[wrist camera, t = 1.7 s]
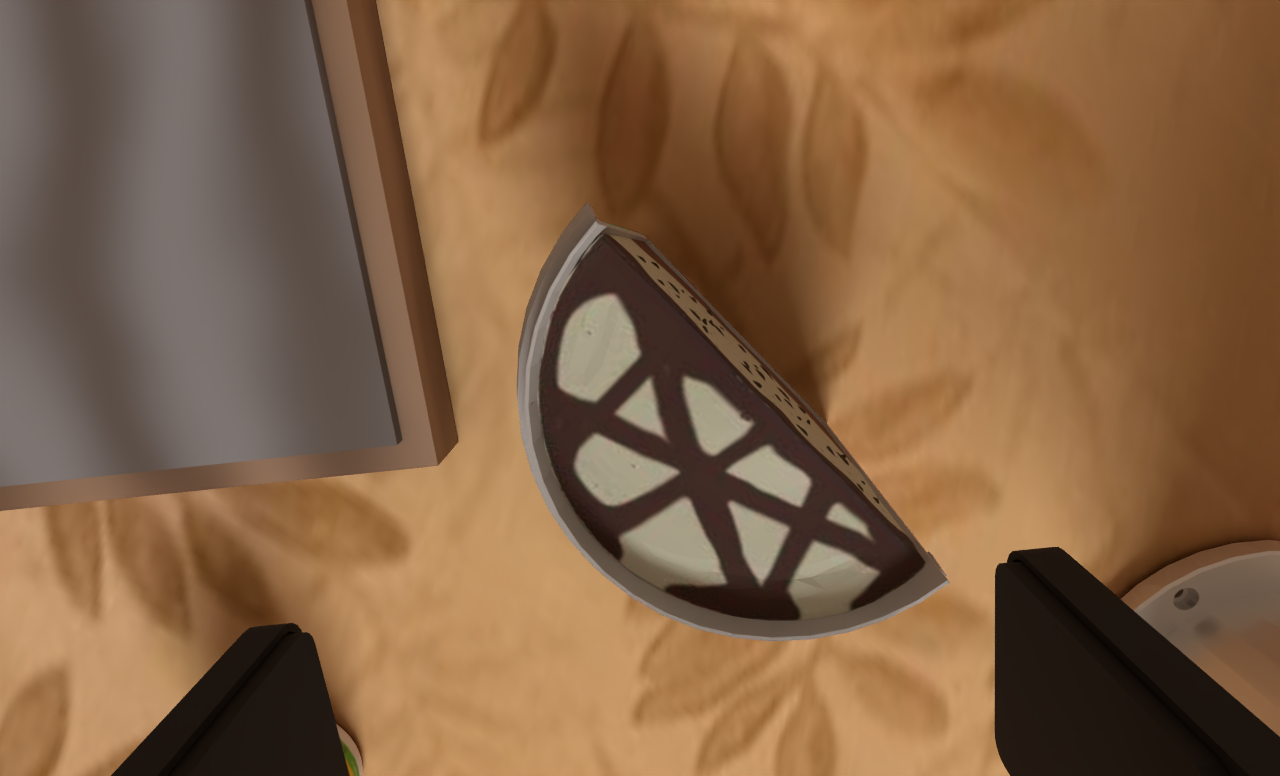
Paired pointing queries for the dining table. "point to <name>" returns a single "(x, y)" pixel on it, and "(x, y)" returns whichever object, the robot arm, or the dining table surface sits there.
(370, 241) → the podium
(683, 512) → the food container
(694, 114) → the dining table surface
